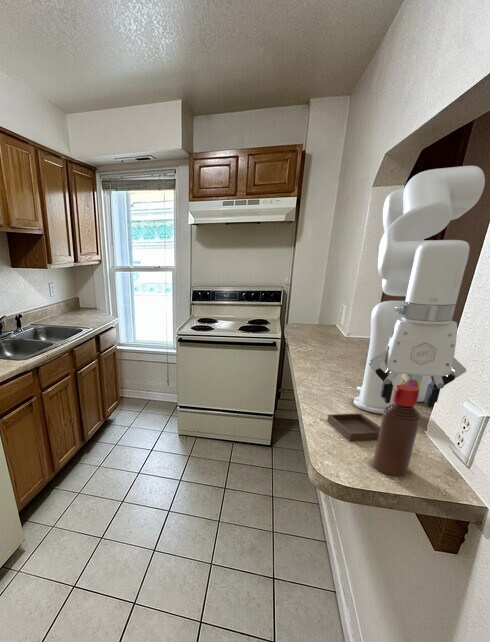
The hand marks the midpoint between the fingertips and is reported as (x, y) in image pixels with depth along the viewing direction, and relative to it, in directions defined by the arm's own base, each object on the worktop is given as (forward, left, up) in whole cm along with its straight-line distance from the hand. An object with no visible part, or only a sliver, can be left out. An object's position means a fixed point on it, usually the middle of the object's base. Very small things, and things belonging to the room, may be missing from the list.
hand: (406, 402), depth 71 cm
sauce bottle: (-1, 0, -16) cm, 16 cm away
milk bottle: (-38, +33, -16) cm, 53 cm away
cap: (-1, 0, -1) cm, 1 cm away
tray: (-19, +3, -16) cm, 25 cm away
